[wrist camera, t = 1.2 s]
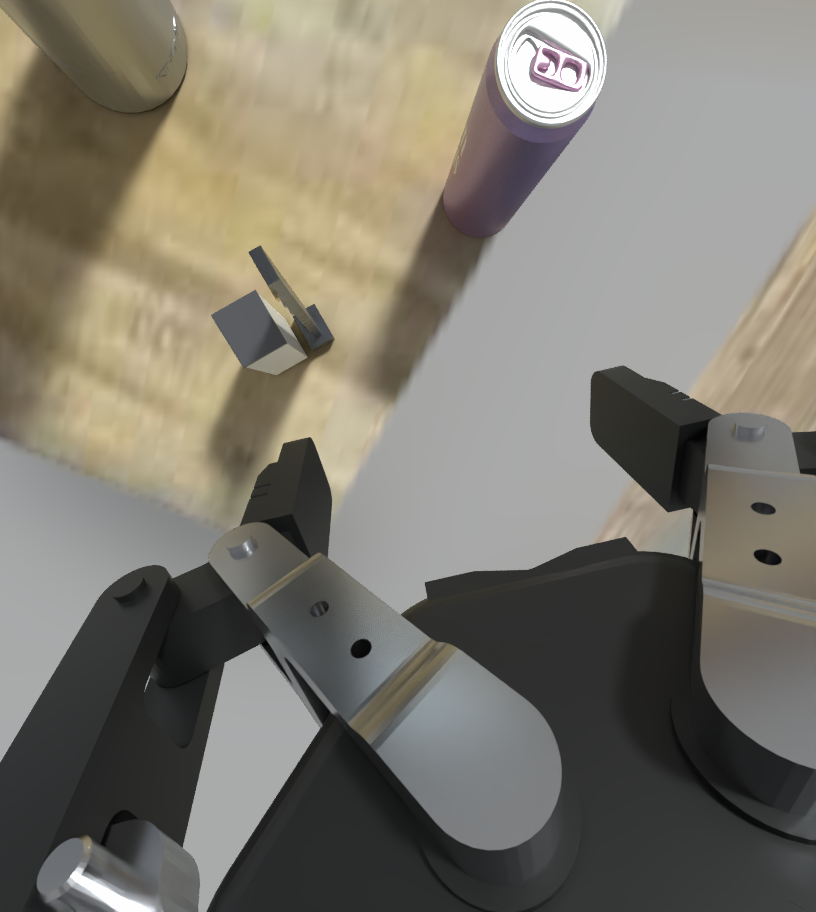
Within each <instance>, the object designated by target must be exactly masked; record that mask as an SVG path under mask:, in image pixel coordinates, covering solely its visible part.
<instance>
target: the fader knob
mask: <svg viewBox="0 0 816 912" xmlns="http://www.w3.org/2000/svg"><path fill="white" fill-rule="evenodd" d="M211 316H212V318H213V319H214V321H215V323H216V324H217V326H218V328H219V329H220V331H221V332H222V334H223V336H224V337H225V339H226V340H227V342H228V344H229V345H230V347H231V349H232V350H233V352H234V353H235V355H236V357H237V358H238V360H239V362H240V363H241V365H242V366H243V368H246V367H247V368H251V369H254V370H258V371H262V372H266V373H270V374H274V375H278V374H280V373H281V372H283V371H285V370H287V369H288V368H290V367H292V366H294V365H295V364H297V363H299V362H301V361H303V360H304V359H306V358H308V357H307V355H306V354H305V352H304V350H303V348H302V347H301V345H300V343H299V342H298V340H297V338H296V337H295V335H294V333H293V331H292V330H291V328H290V326H289V325H288V323H287V321H286V320H285V319H284V318H283V317H282V316H281V315H280V314H279V313H278V312H277V311H276V310H275V309H274V308H273V307H271V306H270V305H269V304H268V303H267V302H266V301H265V300H264V299H263V298H262V297H261V296H260V295H259V294H258V293H257V291H256V290H254V291H252V292H251V293H249V294H247V295H245V296H244V297H242V298H240V299H238V300H237V301H235V302H233V303H231V304H229V305H228V306H226V307H224V308H222V309H221V310H219V311H217V312H215V313H214V314H212V315H211Z"/></svg>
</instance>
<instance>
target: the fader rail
mask: <svg viewBox="0 0 816 912" xmlns="http://www.w3.org/2000/svg"><path fill="white" fill-rule="evenodd" d="M249 254H250V256H251V257H252V259H253V261H254V263H255V265H256V266H257V268H258V270H259V271H260V273H261V275H262V277H263V278H264V280H265V282H266V283H267V285H268V287H269V288H270V290H271V292H272V294H273V295H274V297H275V299H276V300H277V301H278V302H279V301H280V300H281V302H282V303H283V305H284V307H285V308H288V309H289V311H290V313H291V314H292V316H293V315H294V316H293V318H294V319H295V321H296V323H297V324H298V326H299V328H300V330H301V331H302V333H303V335H304V336H305V338H306V340H307V341H308V343H309V345H310V347H311V348H312V350H313V351H315V350H316V349H318V348H320V347H322V346H323V345H325V344H327V343H329V342H330V341H332V340H334V337H333V335H332V334H331V332H330V330H329V329H328V327H327V325H326V323H325V322H324V320H323V318H322V316H321V315H320V313H319V311H318V309H317V308H316V306H315V304H313V305H311V306H310V307H308V308H305V307H304V305H303V304H302V303H301V301H300V300H299V298H298V297H297V296H296V294H295V293H294V291H293V290H292V289H291V287H290V286H289V285H288V283H287V282H286V280H285V279H284V278H283V276H282V275H281V273H280V272H279V271H278V269H277V268H276V266H275V265H274V264H273V262H272V261H271V260H270V258H269V257H268V255H267V254H266V253H265V251H264V250H263V248H262V247H261V246H258V247H257V248H255V249H253V250H251V251H250V252H249Z"/></svg>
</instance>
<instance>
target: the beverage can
mask: <svg viewBox="0 0 816 912" xmlns="http://www.w3.org/2000/svg"><path fill="white" fill-rule="evenodd" d="M606 70H607V56H606V48H605V44H604V40H603V38H602V35H601V33H600V31H599V29H598V27H597V25H596V24H595V22H594V21H593V20H592V18H591V17H590V16H589V15H588V14H587V13H586V12H585V11H584V10H582V9H581V8H580V7H578V6H577V5H575V4H573V3H571V2H568V1H565V0H536V1H534V2H531V3H529V4H527V5H525V6H524V7H522V8H521V9H520V10H518V11H517V12H516V13H515V14H514V15H513V16H512V17H511V18H510V20H509V21H508V22H507V24H506V25H505V27H504V29H503V31H502V33H501V35H500V36H499V37H498V39H497V40H496V42H495V43H494V45H493V47H492V50H491V52H490V55H489V58H488V61H487V64H486V66H485V69H484V72H483V75H482V78H481V81H480V84H479V87H478V90H477V93H476V96H475V99H474V102H473V105H472V108H471V111H470V114H469V117H468V119H467V122H466V125H465V128H464V131H463V134H462V137H461V140H460V143H459V146H458V149H457V152H456V155H455V158H454V161H453V164H452V167H451V170H450V172H449V175H448V178H447V181H446V184H445V188H444V193H443V203H444V208H445V212H446V214H447V217H448V218H449V220H450V222H451V223H452V224H453V226H454V227H455V228H456V229H458V230H459V231H460V232H462V233H463V234H465V235H468V236H471V237H476V238H484V237H489V236H492V235H494V234H496V233H498V232H499V231H501V230H502V229H503V228H504V227H505V226H506V225H507V223H508V222H509V221H510V219H511V218H512V217H513V216H514V214H515V213H516V212H517V210H518V209H519V208H520V206H521V205H522V204H523V203H524V201H525V200H526V199H527V197H528V196H529V195H530V193H531V192H532V191H533V190H534V188H535V187H536V185H537V184H538V183H539V182H540V180H541V179H542V178H543V176H544V175H545V174H546V173H547V171H548V170H549V169H550V167H551V166H552V165H553V163H554V162H555V161H556V159H557V158H558V157H559V156H560V154H561V153H562V152H563V150H564V149H565V148H566V146H567V145H568V144H569V142H570V141H571V140H572V139H573V137H574V136H575V135H576V133H577V132H578V131H579V129H580V128H581V127H582V125H583V124H584V123H585V121H586V120H587V119H588V117H589V116H590V114H591V112H592V110H593V108H594V105H595V102H596V100H597V99H598V97H599V95H600V93H601V90H602V88H603V85H604V82H605V77H606Z"/></svg>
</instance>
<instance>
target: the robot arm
mask: <svg viewBox="0 0 816 912" xmlns="http://www.w3.org/2000/svg"><path fill="white" fill-rule="evenodd" d="M0 8H1V9H2V10H3V11H4V12H5V13H6V14H7V15H8V16H9V17H10V18H11V19H12V20H13V21H14V22H15V24H16V25H17V26H18V27H19V28H20V29H21V30H22V31H23V32H24V33H25V34H26V35H27V36H28V37H29V38H30V39H31V40H32V41H33V43H34V44H35V45H36V46H37V47H38V48H39V49H40V50H41V51H42V52H43V53H44V54H45V55H46V56H47V57H48V58H49V59H50V60H51V61H52V62H54V63H56V64H57V65H58V66H59V67H60V69H61V70H62V71H63V72H64V73H65V74H66V75H67V76H68V77H69V78H70V79H71V80H72V81H73V82H74V83H75V84H76V85H77V86H78V87H79V88H80V89H81V90H82V92H83V93H84V94H85V95H86V96H88V97H89V98H91V99H92V100H94V101H95V102H97V103H98V104H100V105H102V106H105V107H107V108H109V109H111V110H116V111H120V112H125V113H129V112H143V111H147V110H151V109H153V108H155V107H157V106H159V105H161V104H163V103H164V102H165V101H166V100H167V99H169V98H170V97H171V96H172V95H173V94H174V92H175V91H176V89H177V88H178V87H179V85H180V83H181V81H182V78H183V76H184V74H185V70H186V64H187V42H186V37H185V32H184V29H183V27H182V24H181V22H180V20H179V17H178V15H177V13H176V11H175V9H174V7H173V5H172V3H171V1H170V0H0ZM590 427H591V432H592V435H593V437H594V439H595V441H596V442H597V444H598V445H599V446H600V447H601V448H602V449H603V450H604V451H605V452H606V453H607V454H608V455H609V456H610V457H611V458H613V459H614V460H615V461H616V462H617V463H618V464H619V465H620V466H621V467H622V468H623V469H624V470H625V471H626V472H627V473H628V474H629V475H630V476H631V477H632V478H633V479H634V480H635V481H636V482H637V483H638V484H639V485H640V486H641V487H642V488H643V489H644V490H645V491H646V492H647V493H648V494H649V495H651V496H652V497H653V498H654V499H655V500H656V501H657V502H658V503H659V504H660V505H661V506H662V507H663V508H664V509H665V510H666V511H667V512H672V511H676V510H681V509H685V508H692V509H693V513H692V518H691V526H690V536H689V547H688V557H687V558H686V557H682V556H677V555H673V554H667V553H660V552H647V551H637V550H636V549H635V548H634V546H633V545H632V544H631V543H630V542H629V540H628V539H627V538H626V537H623V538H619V539H615V540H610V541H606V542H601V543H597V544H593V545H588V546H584V547H579V548H576V549H574V550H572V551H569V552H567V553H565V554H563V555H561V556H558V557H556V558H554V559H552V560H550V561H548V562H546V563H544V564H541V565H539V566H537V567H535V568H533V569H529V570H510V571H509V570H508V571H473V572H469V573H465V574H460V575H456V576H451V577H447V578H442V579H438V580H433V581H429V582H425V587H426V592H427V599H424V600H422V601H420V602H419V603H417V604H415V605H414V606H412V607H410V608H409V609H407V610H406V611H405V612H403V613H402V614H401V615H400V614H399V613H397V612H396V611H395V610H394V609H392V608H391V607H390V606H388V605H387V604H386V603H385V602H383V601H382V600H381V599H380V598H378V597H377V596H376V595H374V594H373V593H372V592H370V591H369V590H368V589H367V588H365V587H364V586H363V585H362V584H360V583H359V582H358V581H356V580H355V579H354V578H353V577H351V576H350V575H349V574H348V573H346V572H345V571H344V570H342V569H341V568H340V567H339V566H337V565H336V564H335V563H334V562H332V561H331V560H329V559H328V546H329V533H330V522H331V510H332V496H331V491H330V486H329V483H328V480H327V477H326V475H325V472H324V469H323V466H322V464H321V461H320V458H319V455H318V453H317V450H316V447H315V445H314V442H313V440H312V439H311V438H310V437H309V438H304V439H300V440H296V441H291V442H287V443H284V444H283V446H282V449H281V453H280V456H279V459H278V462H276V463H271V464H269V465H268V466H267V467H266V468H265V469H264V470H263V471H262V472H261V473H260V474H259V475H258V478H257V481H256V483H255V486H254V489H253V491H252V494H251V499H250V500H249V502H248V505H247V508H246V510H245V513H244V516H243V519H242V521H241V524H240V526H239V527H237V528H234V529H233V530H231V531H229V532H228V533H226V534H225V535H223V536H222V537H221V538H220V539H219V540H218V541H217V542H216V543H215V544H214V545H213V547H212V548H211V550H210V552H209V556H208V559H209V562H208V563H206V564H204V565H202V566H200V567H198V568H195V569H193V570H191V571H189V572H186V573H184V574H182V575H180V576H178V577H175V578H172V577H171V575H170V574H169V573H168V571H167V570H166V568H164V567H162V566H158V565H152V566H146V567H142V568H139V569H137V570H134V571H132V572H130V573H128V574H127V575H125V576H123V577H121V578H120V579H118V580H117V581H116V582H114V583H113V584H112V585H111V586H109V587H108V588H107V589H106V590H105V591H104V592H103V594H102V595H101V596H100V597H99V599H98V600H97V602H96V603H95V605H94V607H93V608H92V610H91V612H90V613H89V615H88V617H87V618H86V620H85V622H84V623H83V625H82V627H81V629H80V630H79V632H78V634H77V635H76V637H75V638H74V640H73V642H72V644H71V645H70V647H69V649H68V650H67V652H66V654H65V655H64V657H63V659H62V660H61V662H60V664H59V666H58V667H57V669H56V670H55V672H54V674H53V675H52V677H51V679H50V680H49V682H48V684H47V685H46V687H45V689H44V690H43V692H42V694H41V695H40V697H39V699H38V700H37V702H36V704H35V705H34V707H33V709H32V710H31V712H30V714H29V715H28V717H27V719H26V721H25V722H24V724H23V726H22V727H21V729H20V731H19V732H18V734H17V736H16V737H15V739H14V741H13V742H12V744H11V746H10V747H9V749H8V751H7V752H6V754H5V756H4V757H3V759H2V761H1V762H0V912H198V902H199V888H200V878H199V871H198V867H197V864H196V862H195V860H194V858H193V857H192V856H191V855H190V854H189V853H188V852H187V851H186V850H184V849H183V843H184V839H185V834H186V830H187V826H188V821H189V817H190V813H191V808H192V804H193V799H194V795H195V791H196V786H197V782H198V778H199V773H200V769H201V764H202V760H203V756H204V751H205V747H206V743H207V738H208V734H209V730H210V725H211V721H212V716H213V712H214V707H215V703H216V699H217V694H218V690H219V686H220V681H221V677H222V672H223V668H224V663H225V662H226V661H229V660H231V659H232V658H234V657H236V656H238V655H240V654H242V653H244V652H246V651H248V650H250V649H252V648H254V647H256V646H258V645H260V646H261V648H262V649H263V650H264V652H265V653H266V654H267V656H268V657H269V658H270V660H271V661H272V662H273V664H274V665H275V666H276V667H277V669H278V670H279V671H280V673H281V674H282V675H283V677H284V678H285V679H286V681H287V682H288V683H289V684H290V686H291V687H292V688H293V689H294V691H295V692H296V694H297V695H298V696H299V698H300V699H301V700H302V702H303V703H304V705H305V706H306V708H307V709H308V711H309V712H310V714H311V715H312V717H313V718H314V720H315V721H316V723H317V724H318V725H319V727H320V730H319V732H318V733H317V735H316V736H315V738H314V739H313V741H312V742H311V744H310V745H309V747H308V748H307V750H306V752H305V753H304V755H303V756H302V758H301V759H300V761H299V762H298V764H297V766H296V767H295V769H294V770H293V772H292V773H291V775H290V776H289V778H288V779H287V781H286V782H285V784H284V786H283V787H282V789H281V790H280V792H279V793H278V795H277V796H276V798H275V799H274V801H273V803H272V804H271V806H270V807H269V809H268V810H267V812H266V813H265V815H264V816H263V818H262V820H261V821H260V823H259V824H258V826H257V827H256V829H255V831H254V832H253V833H252V835H251V837H250V838H249V840H248V841H247V843H246V844H245V846H244V848H243V849H242V850H241V852H240V854H239V855H238V857H237V858H236V860H235V861H234V863H233V864H232V866H231V867H230V869H229V871H228V872H227V874H226V876H225V877H224V879H223V881H222V883H221V884H220V886H219V888H218V889H217V891H216V893H215V895H214V898H213V899H212V901H211V903H210V906H209V908H208V910H207V912H816V431H814V432H793V433H792V431H791V429H790V427H789V426H788V425H786V424H785V423H784V422H782V421H780V420H778V419H775V418H772V417H769V416H765V415H760V414H753V413H730V414H724V415H721V414H719V413H718V412H716V411H714V410H712V409H711V408H709V407H707V406H705V405H703V404H702V403H700V402H698V401H696V400H695V399H693V398H692V399H690V397H689V396H687V395H686V394H684V393H682V392H678V390H677V389H675V388H673V387H671V386H670V385H668V384H666V383H664V382H660V381H656V380H652V379H648V378H644V377H643V376H641V375H639V374H637V373H636V372H634V371H632V370H631V369H629V368H627V367H626V366H619V367H614V368H610V369H606V370H601V371H597V372H594V374H593V375H592V378H591V405H590ZM149 675H150V679H149V682H148V685H147V687H146V690H145V686H146V683H147V680H148V678H149ZM144 690H145V692H144Z"/></svg>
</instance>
